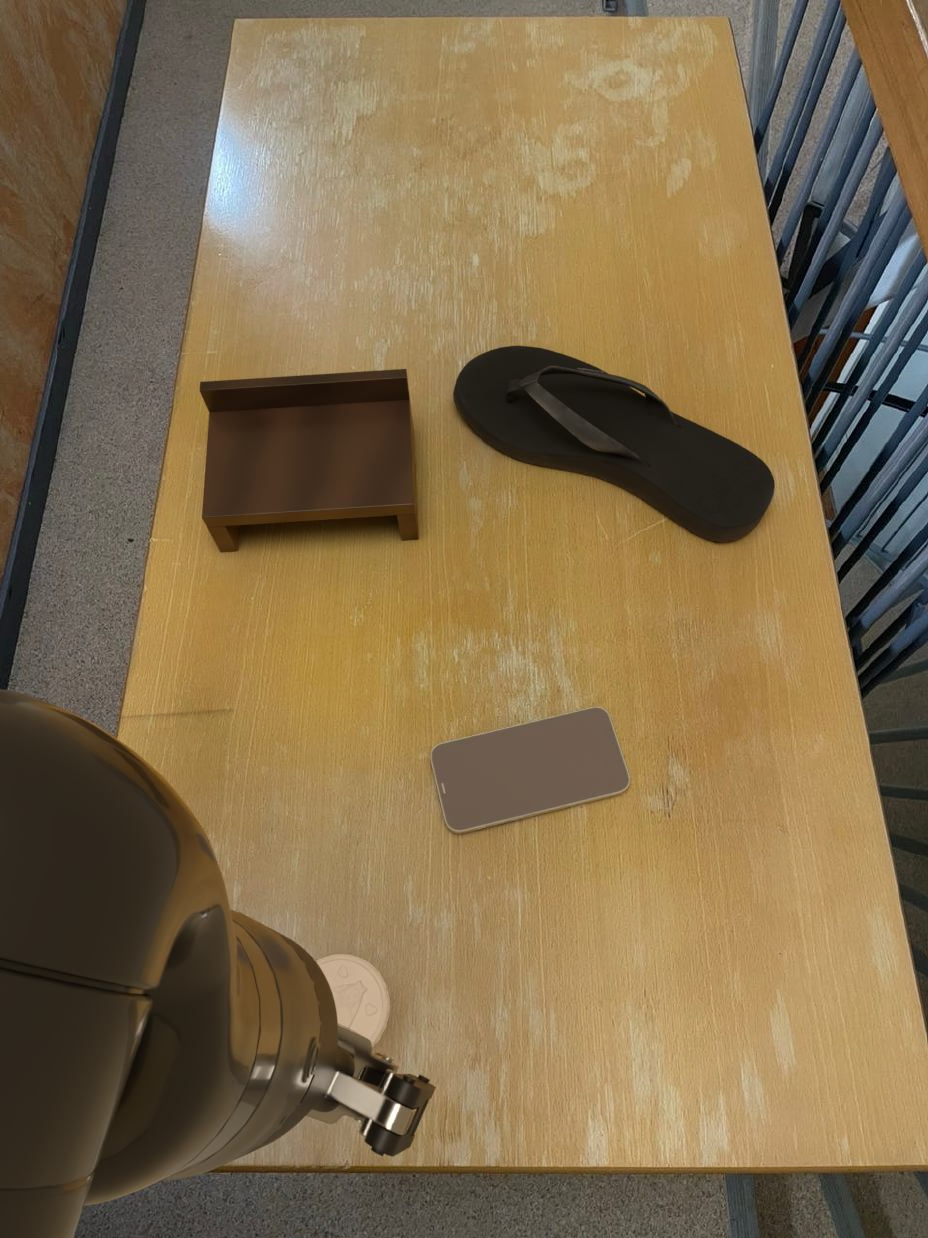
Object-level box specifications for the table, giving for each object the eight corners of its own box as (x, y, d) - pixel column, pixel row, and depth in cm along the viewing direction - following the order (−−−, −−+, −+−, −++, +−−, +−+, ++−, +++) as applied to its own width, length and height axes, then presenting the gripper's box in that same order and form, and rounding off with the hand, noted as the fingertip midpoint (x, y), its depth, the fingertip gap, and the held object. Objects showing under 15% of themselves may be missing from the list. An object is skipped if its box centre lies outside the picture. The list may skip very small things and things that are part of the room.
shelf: (220, 552, 83) (190, 498, 75) (226, 442, 88) (199, 381, 80) (418, 539, 83) (411, 484, 75) (413, 431, 88) (406, 368, 80)
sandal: (747, 557, 82) (768, 518, 75) (432, 439, 88) (428, 394, 82) (788, 449, 86) (811, 404, 80) (487, 344, 92) (487, 295, 86)
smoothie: (296, 1005, 67) (251, 996, 54) (365, 946, 69) (338, 923, 56) (348, 1081, 65) (315, 1090, 52) (419, 1017, 66) (403, 1011, 54)
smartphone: (634, 789, 72) (448, 835, 71) (632, 792, 73) (448, 838, 72) (605, 703, 75) (427, 745, 74) (604, 706, 76) (427, 748, 75)
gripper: (-51, 1047, 29) (129, 1046, 44) (342, 1278, 27) (393, 1194, 41) (85, 833, 32) (211, 899, 47) (453, 1021, 29) (464, 1029, 44)
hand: (296, 1037), depth 44 cm, fingers open, 8 cm apart
